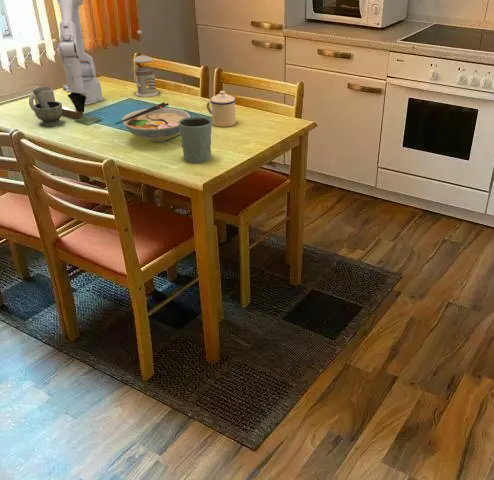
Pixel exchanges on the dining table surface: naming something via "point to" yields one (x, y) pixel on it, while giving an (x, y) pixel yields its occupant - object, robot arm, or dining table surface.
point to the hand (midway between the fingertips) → (80, 112)
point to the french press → (144, 76)
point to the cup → (47, 94)
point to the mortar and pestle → (47, 110)
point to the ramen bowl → (155, 123)
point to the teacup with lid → (222, 110)
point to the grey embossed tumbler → (196, 139)
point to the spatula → (78, 116)
